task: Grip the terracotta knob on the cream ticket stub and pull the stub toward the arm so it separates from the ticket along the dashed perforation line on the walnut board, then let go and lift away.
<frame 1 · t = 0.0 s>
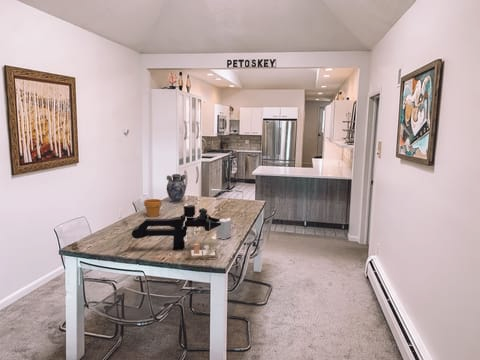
hand: (220, 222, 219), 17 cm above the table, tool horizontal, fingers open, 9 cm apart
decorative vase: (176, 202, 353), on the table
ticket board: (200, 256, 205), on the table
supplement box: (223, 238, 241), on the table
flower pot: (152, 216, 295), on the table
stub: (196, 248, 204), point 4 cm above the table, slide at 0.0 cm
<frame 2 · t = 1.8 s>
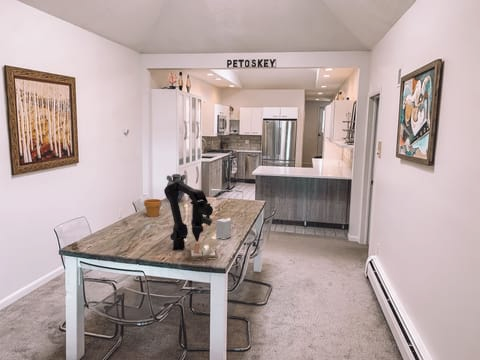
hand: (196, 239, 203), 10 cm above the table, tool pointing down, fingers open, 9 cm apart
nothing on the table moved.
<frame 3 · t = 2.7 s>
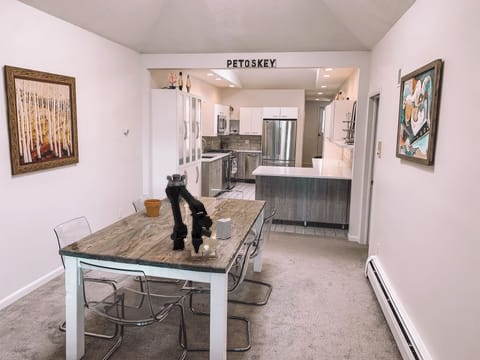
hand: (196, 250, 204), 3 cm above the table, tool pointing down, fingers open, 9 cm apart
nothing on the table moved.
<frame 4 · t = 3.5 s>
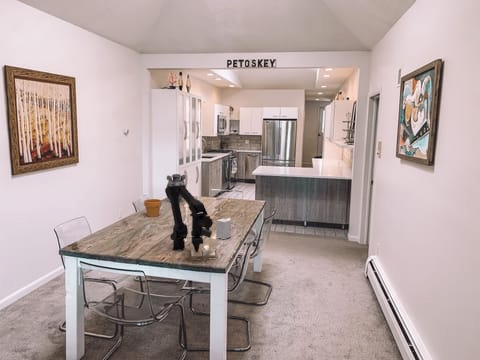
hand: (196, 250, 204), 3 cm above the table, tool pointing down, fingers closed on stub, 3 cm apart
stub: (196, 248, 204), point 4 cm above the table, slide at 0.0 cm, touching gripper
everything else where it was.
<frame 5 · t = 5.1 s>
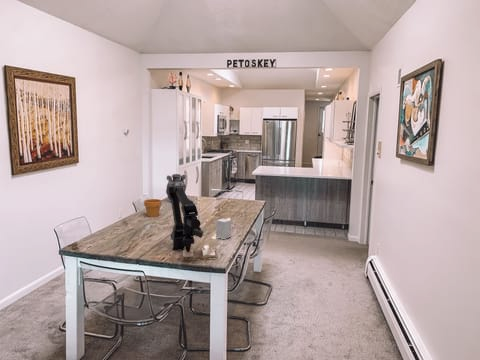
hand: (188, 251, 204), 3 cm above the table, tool pointing down, fingers closed on stub, 3 cm apart
stub: (188, 249, 203), point 4 cm above the table, slide at 4.9 cm, touching gripper
everything else where it was.
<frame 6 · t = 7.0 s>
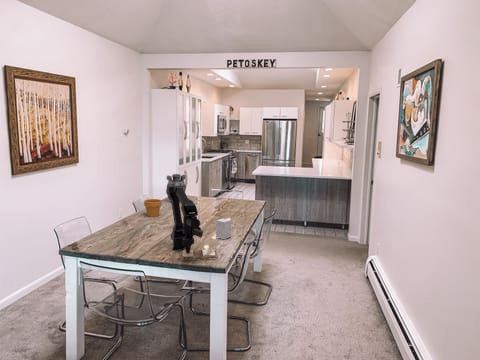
hand: (188, 250, 203), 3 cm above the table, tool pointing down, fingers open, 9 cm apart
stub: (188, 249, 203), point 4 cm above the table, slide at 4.9 cm
everything else where it was.
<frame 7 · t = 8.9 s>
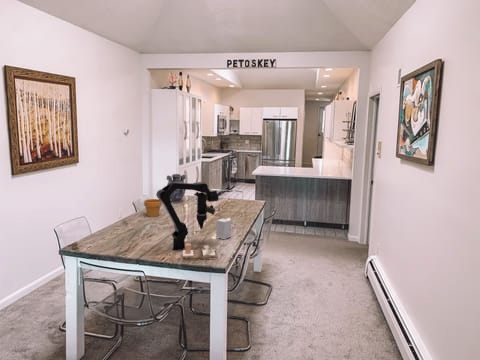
hand: (201, 226, 223), 12 cm above the table, tool pointing down, fingers open, 9 cm apart
nothing on the table moved.
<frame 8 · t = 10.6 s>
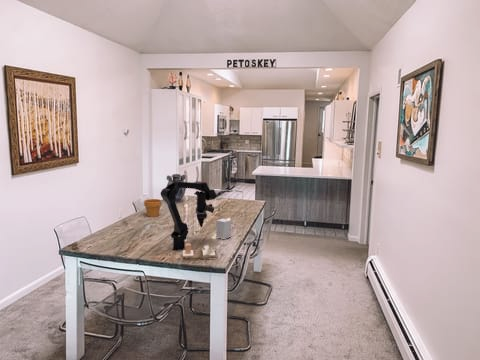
hand: (200, 225, 227), 12 cm above the table, tool pointing down, fingers open, 9 cm apart
nothing on the table moved.
at the end: stub slide at 4.9 cm; the gripper is holding nothing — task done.
